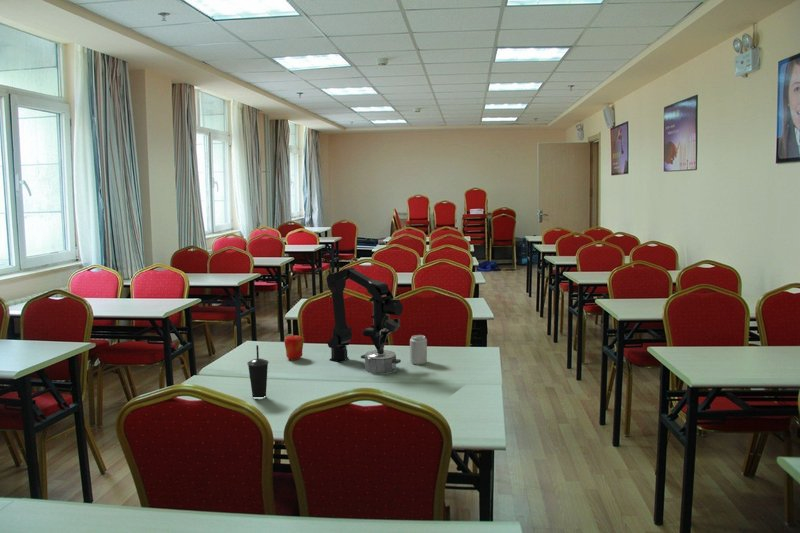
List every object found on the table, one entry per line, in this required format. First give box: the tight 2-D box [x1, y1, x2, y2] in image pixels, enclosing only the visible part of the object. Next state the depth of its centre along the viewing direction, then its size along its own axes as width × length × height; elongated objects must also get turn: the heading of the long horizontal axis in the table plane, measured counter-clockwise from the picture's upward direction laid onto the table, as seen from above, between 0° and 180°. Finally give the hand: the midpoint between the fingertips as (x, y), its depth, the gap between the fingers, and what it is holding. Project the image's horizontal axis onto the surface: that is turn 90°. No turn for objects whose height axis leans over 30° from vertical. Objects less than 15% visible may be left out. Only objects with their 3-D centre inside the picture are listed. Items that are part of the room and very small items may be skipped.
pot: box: [360, 353, 402, 375], centre depth 272 cm, size 18×13×6 cm
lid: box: [365, 342, 396, 360], centre depth 271 cm, size 13×13×5 cm
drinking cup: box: [247, 345, 270, 398], centre depth 236 cm, size 8×8×20 cm
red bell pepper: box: [284, 333, 304, 361], centre depth 289 cm, size 9×8×12 cm
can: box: [409, 334, 428, 366], centre depth 281 cm, size 8×8×12 cm
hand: (380, 348), depth 271 cm, fingers open, 4 cm apart
